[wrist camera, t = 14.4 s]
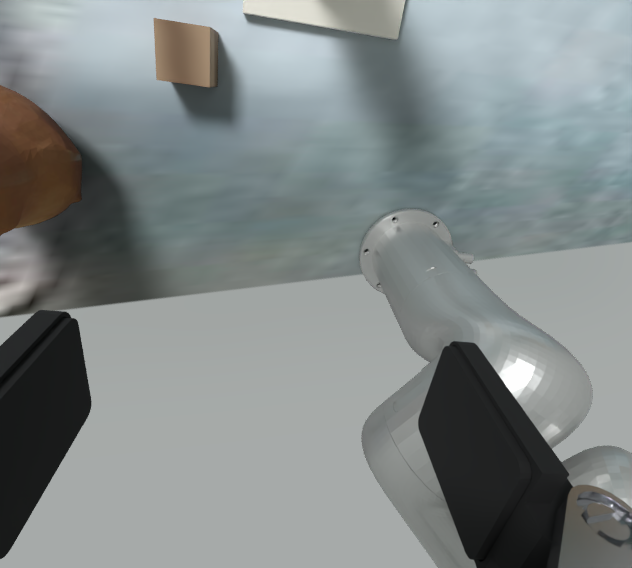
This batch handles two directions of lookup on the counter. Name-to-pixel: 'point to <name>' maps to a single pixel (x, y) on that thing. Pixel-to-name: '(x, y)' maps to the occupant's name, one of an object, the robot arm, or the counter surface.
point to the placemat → (335, 14)
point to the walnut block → (186, 53)
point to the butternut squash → (34, 164)
